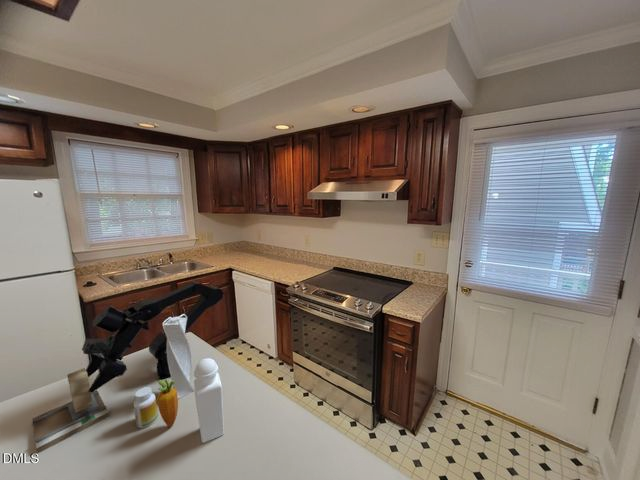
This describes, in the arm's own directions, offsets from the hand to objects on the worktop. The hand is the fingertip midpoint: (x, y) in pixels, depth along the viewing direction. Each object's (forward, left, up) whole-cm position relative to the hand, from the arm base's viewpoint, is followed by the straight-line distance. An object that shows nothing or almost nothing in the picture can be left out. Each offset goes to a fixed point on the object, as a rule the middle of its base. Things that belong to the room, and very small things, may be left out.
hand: (86, 385), depth 81 cm
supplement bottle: (-16, +14, -9) cm, 23 cm away
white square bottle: (-32, +28, -9) cm, 43 cm away
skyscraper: (-26, +6, -9) cm, 28 cm away
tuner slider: (+1, +2, -7) cm, 7 cm away
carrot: (-22, +20, -9) cm, 31 cm away
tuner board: (+5, +2, -9) cm, 10 cm away
